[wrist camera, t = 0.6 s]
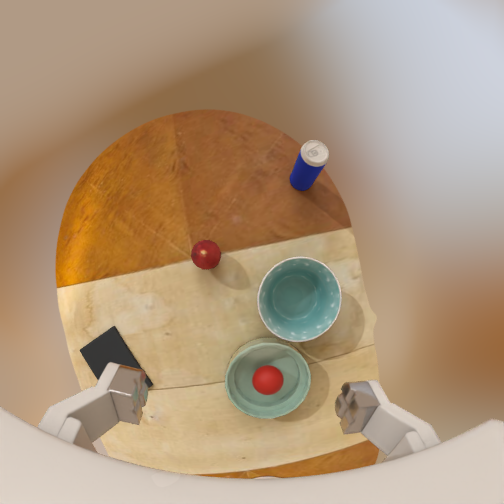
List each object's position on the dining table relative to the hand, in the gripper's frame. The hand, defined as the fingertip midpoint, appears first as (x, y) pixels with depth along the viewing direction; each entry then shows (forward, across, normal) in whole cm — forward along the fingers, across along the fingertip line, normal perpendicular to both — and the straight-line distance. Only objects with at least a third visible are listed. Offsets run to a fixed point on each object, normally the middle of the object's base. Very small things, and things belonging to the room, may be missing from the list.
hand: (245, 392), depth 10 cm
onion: (+47, -5, -11) cm, 49 cm away
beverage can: (+53, +13, +7) cm, 55 cm away
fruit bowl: (+37, +9, -32) cm, 50 cm away
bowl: (+43, +13, -16) cm, 48 cm away
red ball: (+36, +9, -32) cm, 49 cm away
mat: (+37, -26, -37) cm, 59 cm away
